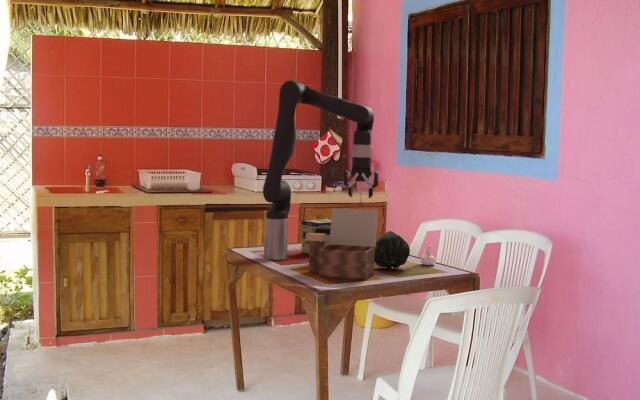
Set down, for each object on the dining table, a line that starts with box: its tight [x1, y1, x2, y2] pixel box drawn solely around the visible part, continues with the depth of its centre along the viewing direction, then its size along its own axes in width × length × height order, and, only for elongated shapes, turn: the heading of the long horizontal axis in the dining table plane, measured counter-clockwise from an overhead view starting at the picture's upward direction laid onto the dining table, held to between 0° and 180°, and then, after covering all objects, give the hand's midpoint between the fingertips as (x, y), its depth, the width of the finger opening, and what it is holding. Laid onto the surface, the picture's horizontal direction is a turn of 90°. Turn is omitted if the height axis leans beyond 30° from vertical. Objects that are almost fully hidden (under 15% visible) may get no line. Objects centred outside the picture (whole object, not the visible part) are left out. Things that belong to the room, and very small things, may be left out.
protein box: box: [301, 218, 331, 256], centre depth 314 cm, size 10×16×16 cm
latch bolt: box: [306, 233, 326, 241], centre depth 273 cm, size 7×4×2 cm, turn 73°
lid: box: [330, 207, 378, 247], centre depth 274 cm, size 18×14×1 cm
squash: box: [374, 230, 411, 270], centre depth 282 cm, size 14×15×15 cm
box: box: [308, 241, 375, 281], centre depth 268 cm, size 24×14×12 cm, turn 73°
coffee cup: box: [314, 227, 331, 246], centre depth 291 cm, size 9×9×15 cm
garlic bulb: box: [419, 245, 436, 266], centre depth 296 cm, size 6×6×8 cm
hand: (360, 197), depth 283 cm, fingers open, 7 cm apart
